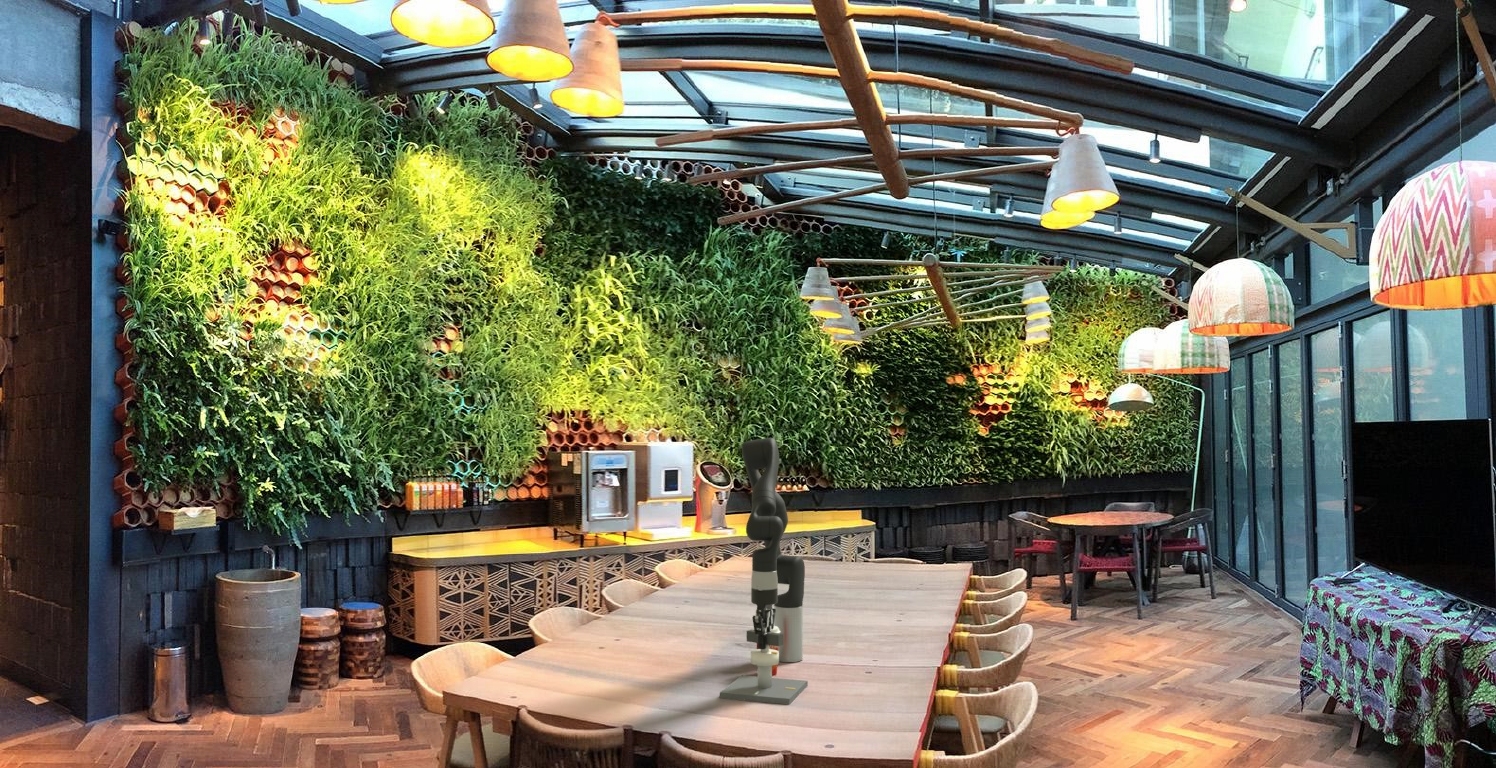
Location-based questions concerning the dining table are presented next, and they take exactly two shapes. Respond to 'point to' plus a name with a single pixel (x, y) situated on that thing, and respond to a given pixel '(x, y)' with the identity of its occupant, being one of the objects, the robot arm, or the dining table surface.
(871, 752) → the dining table surface
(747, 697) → the post board
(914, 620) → the dining table surface
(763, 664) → the coupling
